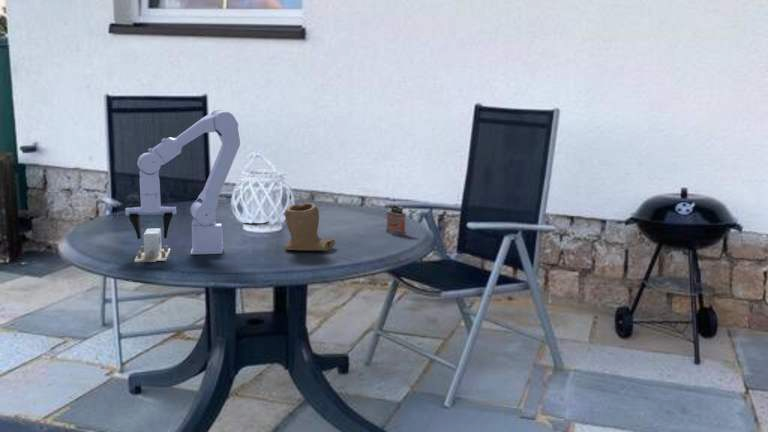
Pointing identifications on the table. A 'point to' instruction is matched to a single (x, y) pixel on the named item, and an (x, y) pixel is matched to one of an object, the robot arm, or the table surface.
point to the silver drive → (152, 242)
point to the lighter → (396, 220)
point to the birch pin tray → (150, 258)
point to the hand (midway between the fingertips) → (152, 237)
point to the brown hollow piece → (305, 229)
